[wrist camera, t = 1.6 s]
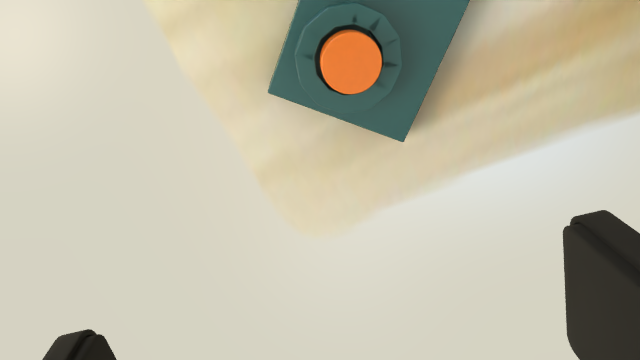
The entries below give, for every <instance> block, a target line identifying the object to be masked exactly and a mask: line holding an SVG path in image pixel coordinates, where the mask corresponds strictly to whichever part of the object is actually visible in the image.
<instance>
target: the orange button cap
mask: <svg viewBox="0 0 640 360" xmlns="http://www.w3.org/2000/svg"><path fill="white" fill-rule="evenodd" d="M320 67H321V71H322V74H323V77H324V78H325V80H326V82H327V83H328V84H329V85H330V86H331V87H332V88H333V89H334V90H336V91H338V92H340V93H344V94H357V93H361V92H363V91H365V90H367V89H368V88H370V87H371V86H372V85H373V84H374V83H375V82H376V80H377V79H378V77H379V74H380V72H381V68H382V57H381V53H380V50H379V48H378V46H377V44H376V43H375V42H374V41H373V40H372V39H371V38H370V37H368V36H367V35H365V34H364V33H362V32H360V31H357V30H342V31H339V32H337V33H335V34H333V35H332V36H331V37H330V38H328V40H327V41H326V42H325V44H324V45H323V47H322V49H321V53H320Z"/></svg>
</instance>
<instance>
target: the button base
mask: <svg viewBox="0 0 640 360" xmlns="http://www.w3.org/2000/svg"><path fill="white" fill-rule="evenodd" d="M469 1H470V0H299V1H298V4H297V7H296V10H295V12H294V15H293V18H292V21H291V24H290V27H289V30H288V33H287V36H286V39H285V41H284V44H283V47H282V50H281V53H280V56H279V59H278V62H277V65H276V67H275V70H274V73H273V76H272V79H271V82H270V85H269V89H268V93H270V94H273V95H275V96H278V97H281V98H284V99H286V100H289V101H292V102H295V103H297V104H300V105H303V106H305V107H308V108H311V109H314V110H316V111H319V112H322V113H325V114H327V115H330V116H333V117H335V118H338V119H341V120H344V121H346V122H349V123H352V124H355V125H357V126H360V127H363V128H365V129H368V130H371V131H374V132H376V133H379V134H382V135H384V136H387V137H390V138H393V139H395V140H398V141H401V142H404V140H405V138H406V136H407V134H408V132H409V129H410V127H411V125H412V123H413V121H414V119H415V117H416V114H417V112H418V110H419V108H420V106H421V104H422V102H423V100H424V97H425V95H426V93H427V91H428V89H429V87H430V85H431V82H432V80H433V78H434V76H435V74H436V72H437V70H438V67H439V65H440V63H441V61H442V59H443V57H444V55H445V53H446V50H447V48H448V46H449V44H450V42H451V40H452V38H453V35H454V33H455V31H456V29H457V27H458V25H459V23H460V21H461V18H462V16H463V14H464V12H465V10H466V8H467V6H468V3H469ZM342 30H357V31H360V32H362V33H364V34H365V35H367V36H368V37H370V38H371V39H372V40H373V41H374V42H375V43H376V44H377V46H378V48H379V50H380V53H381V57H382V68H381V72H380V74H379V77H378V79H377V80H376V82H375V83H374V84H373V85H372V86H371V87H370V88H368V89H367V90H365V91H363V92H361V93H357V94H344V93H340V92H338V91H336V90H334V89H333V88H332V87H331V86H330V85H329V84H328V83H327V82H326V80H325V78H324V77H323V74H322V71H321V67H320V53H321V49H322V47H323V45H324V44H325V42H326V41H327V40H328V38H330V37H331V36H332V35H333V34H335V33H337V32H339V31H342Z"/></svg>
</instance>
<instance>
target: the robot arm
mask: <svg viewBox="0 0 640 360" xmlns="http://www.w3.org/2000/svg"><path fill="white" fill-rule="evenodd" d="M563 247H564V272H565V295H566V296H565V297H566V321H567V336H568V340H569V343H570V345H571V347H572V349H573V351H574V353H575V354H576V355H577V357H578V358H579V359H580V360H640V234H639V233H638V232H637V231H635V230H634V229H632V228H631V227H630V226H628V225H627V224H625V223H624V222H622V221H621V220H620V219H618V218H617V217H616V216H614V215H613V214H611V213H610V212H608V211H606V210H601V211H597V212H593V213H588V214H584V215H580V216H575V217H573V218H572V220H571V222H570V226H566V227H565V228H564V230H563ZM43 360H116V358H115V356H114V354H113V352H112V350H111V348H110V346H109V345H108V343H107V341H106V339H105V338H104V336H102V335H99V334H98V335H97V334H96V333H95V332H94V331H92V330H89V329H88V330H83V331H79V332H75V333H70V334H66V335H62V336H60V337H58V338H57V340H55V342H54V343H53V345H52V346H51V348H50V349H49V351H48V352H47V354H46V355H45V357H44V358H43Z"/></svg>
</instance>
